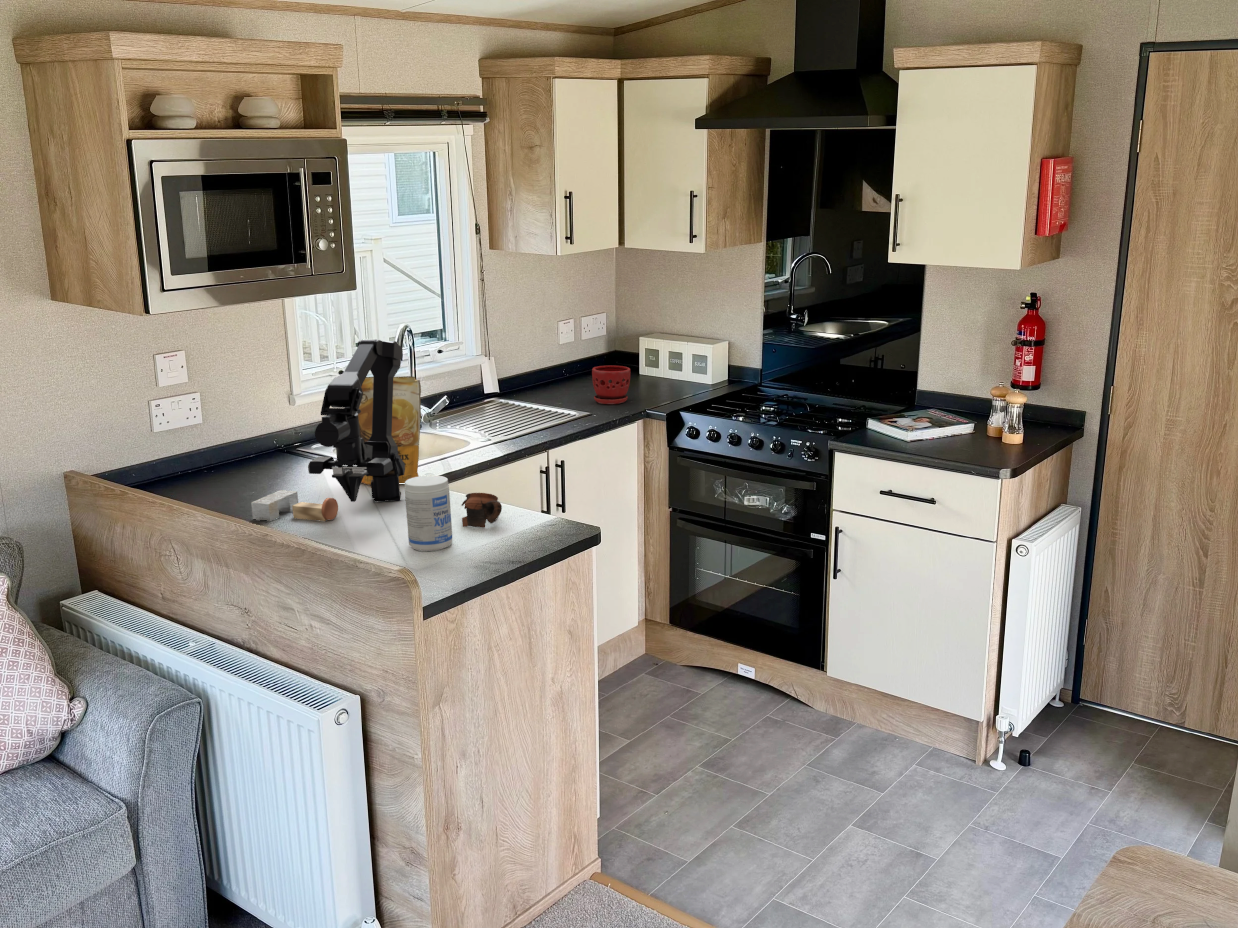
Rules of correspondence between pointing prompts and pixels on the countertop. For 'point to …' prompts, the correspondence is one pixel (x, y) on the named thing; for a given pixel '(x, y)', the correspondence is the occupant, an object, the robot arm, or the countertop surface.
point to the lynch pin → (316, 510)
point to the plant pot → (611, 384)
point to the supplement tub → (428, 512)
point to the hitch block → (274, 505)
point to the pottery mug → (481, 509)
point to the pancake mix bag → (397, 421)
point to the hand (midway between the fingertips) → (353, 501)
